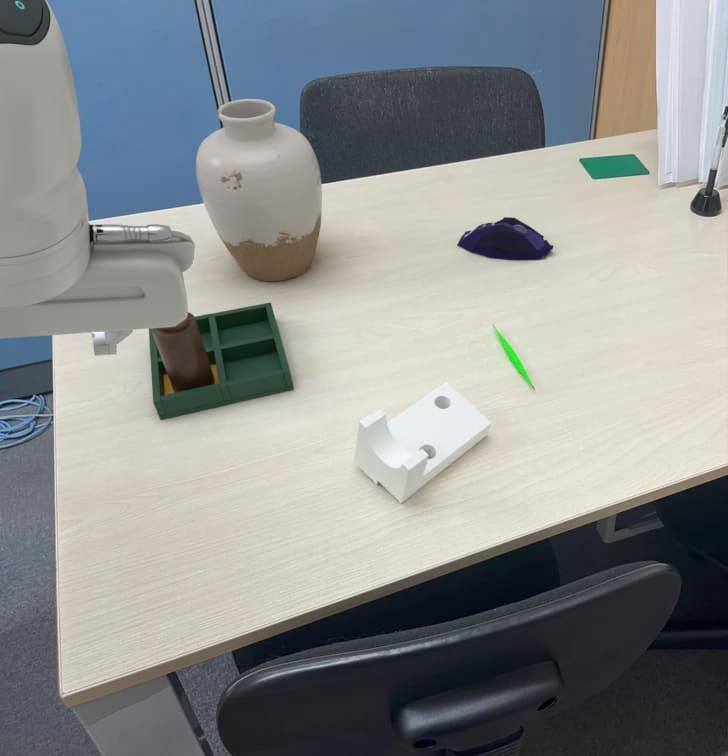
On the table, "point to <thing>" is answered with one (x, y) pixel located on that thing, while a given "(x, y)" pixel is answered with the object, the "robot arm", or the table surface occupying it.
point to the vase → (261, 190)
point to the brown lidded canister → (184, 355)
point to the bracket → (418, 440)
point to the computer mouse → (506, 241)
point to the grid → (228, 362)
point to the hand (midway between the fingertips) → (29, 353)
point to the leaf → (513, 357)
